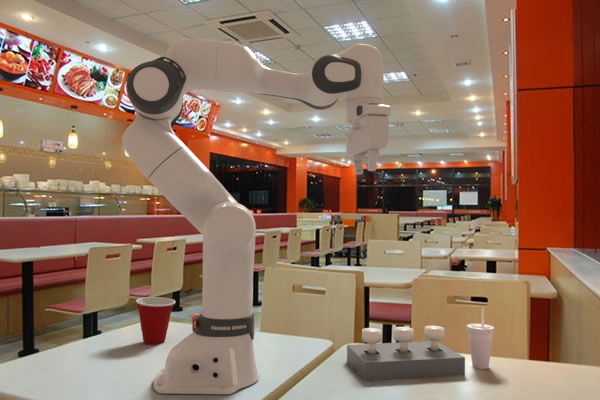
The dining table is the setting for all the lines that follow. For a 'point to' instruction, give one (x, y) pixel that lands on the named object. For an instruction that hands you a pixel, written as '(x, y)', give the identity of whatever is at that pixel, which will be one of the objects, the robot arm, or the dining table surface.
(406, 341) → the knob middle
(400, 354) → the console
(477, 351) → the smoothie
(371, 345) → the knob
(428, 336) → the knob
